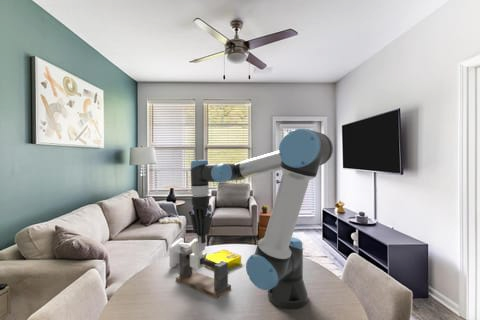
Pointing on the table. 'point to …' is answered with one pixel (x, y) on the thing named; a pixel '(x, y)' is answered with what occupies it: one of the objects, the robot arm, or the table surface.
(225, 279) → the cord rack
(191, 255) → the sleeve
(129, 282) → the table surface
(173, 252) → the cable organizer
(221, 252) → the element tile
